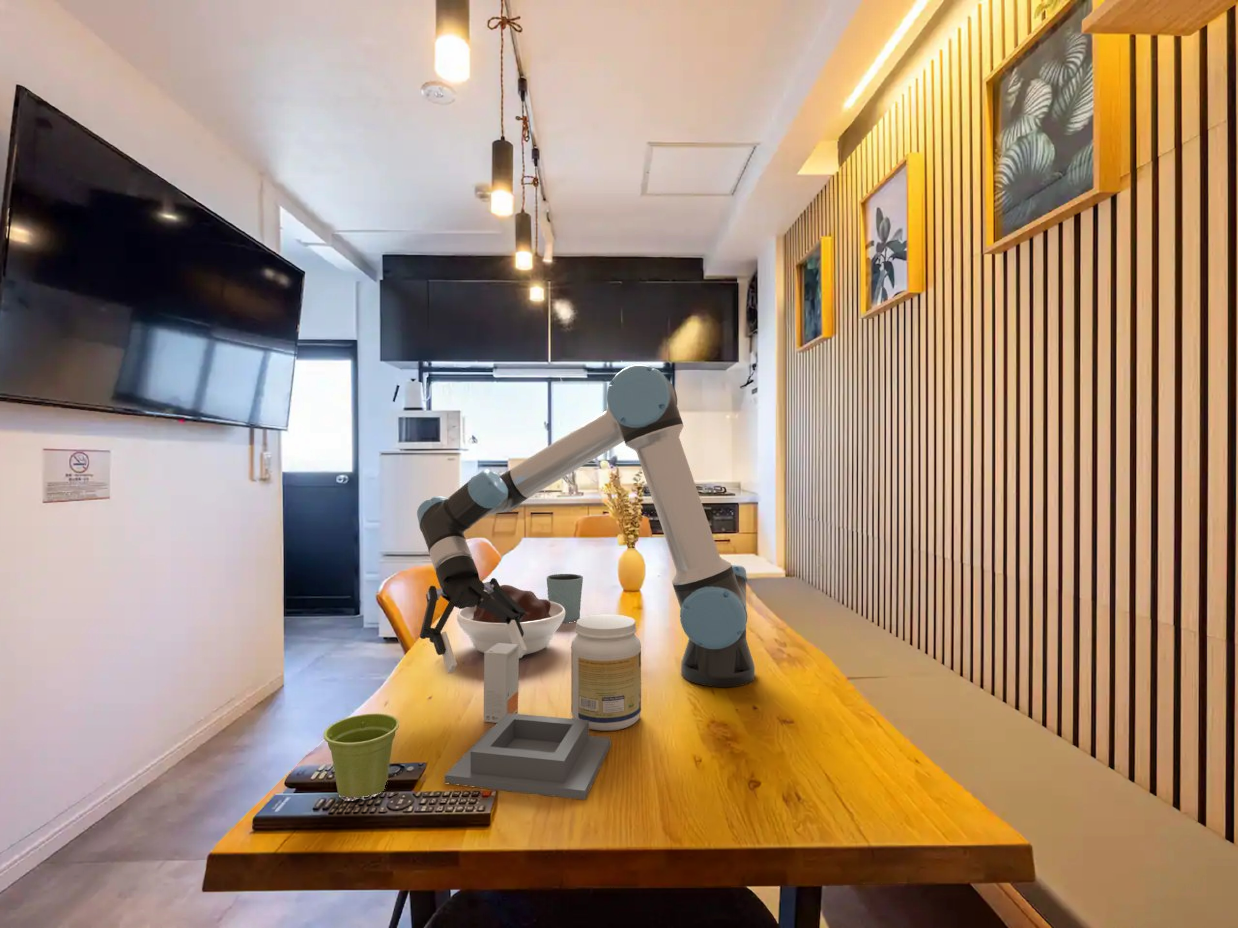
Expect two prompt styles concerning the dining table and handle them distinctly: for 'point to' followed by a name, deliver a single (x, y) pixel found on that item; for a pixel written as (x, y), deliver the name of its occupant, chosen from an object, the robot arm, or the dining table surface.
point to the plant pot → (361, 752)
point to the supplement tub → (606, 672)
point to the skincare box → (500, 681)
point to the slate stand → (533, 757)
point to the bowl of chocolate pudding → (493, 630)
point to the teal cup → (566, 594)
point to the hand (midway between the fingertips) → (488, 661)
